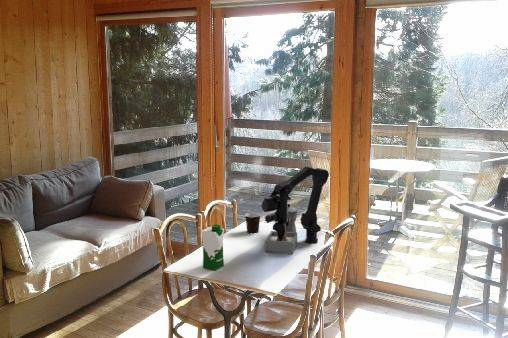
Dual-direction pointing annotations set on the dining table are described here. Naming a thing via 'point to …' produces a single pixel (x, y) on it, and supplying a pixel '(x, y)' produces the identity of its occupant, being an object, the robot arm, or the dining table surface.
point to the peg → (283, 237)
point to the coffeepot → (291, 219)
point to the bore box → (281, 243)
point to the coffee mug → (252, 222)
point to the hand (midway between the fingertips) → (281, 238)
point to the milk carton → (213, 247)
